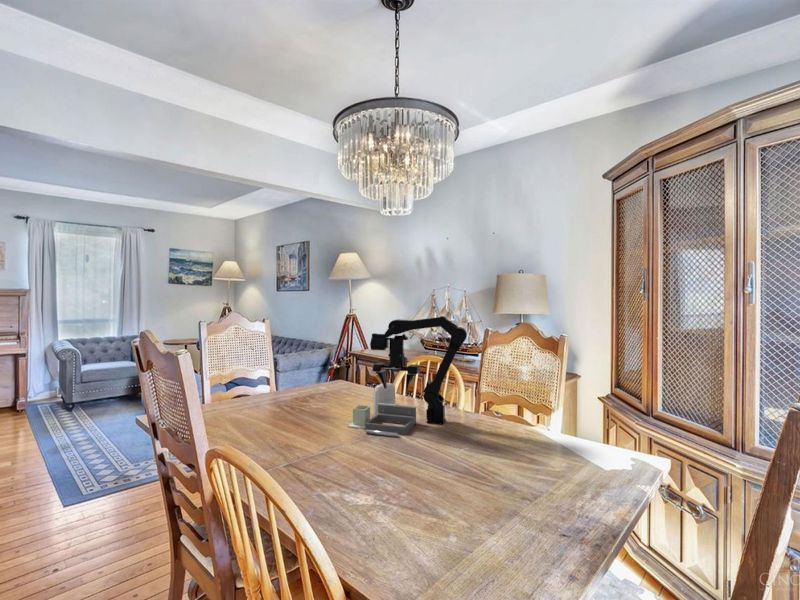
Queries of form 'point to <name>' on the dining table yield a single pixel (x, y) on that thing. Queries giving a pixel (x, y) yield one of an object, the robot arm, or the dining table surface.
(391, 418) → the case base
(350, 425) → the pad
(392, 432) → the rod
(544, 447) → the dining table surface
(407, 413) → the case lid open
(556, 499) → the dining table surface
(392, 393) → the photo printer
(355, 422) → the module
